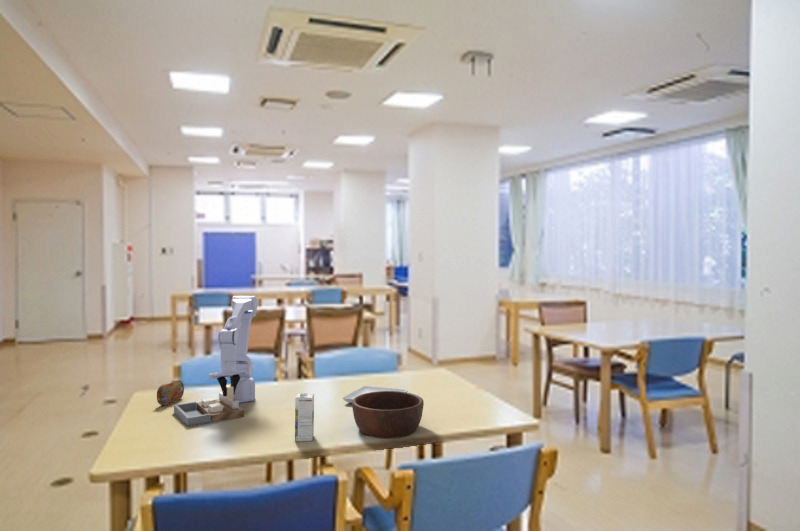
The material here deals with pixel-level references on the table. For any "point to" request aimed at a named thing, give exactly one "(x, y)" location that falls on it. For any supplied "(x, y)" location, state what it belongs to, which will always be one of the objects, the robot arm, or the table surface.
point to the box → (191, 414)
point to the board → (221, 412)
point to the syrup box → (304, 417)
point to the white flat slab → (229, 398)
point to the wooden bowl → (387, 413)
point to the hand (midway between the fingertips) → (228, 395)
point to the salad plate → (368, 389)
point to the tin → (170, 392)
